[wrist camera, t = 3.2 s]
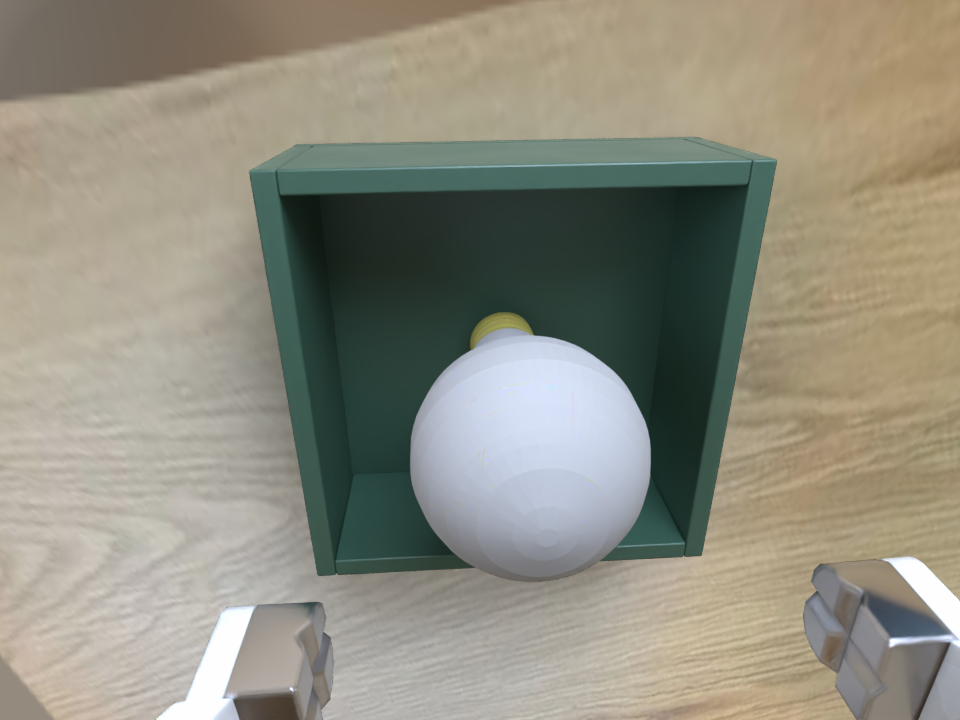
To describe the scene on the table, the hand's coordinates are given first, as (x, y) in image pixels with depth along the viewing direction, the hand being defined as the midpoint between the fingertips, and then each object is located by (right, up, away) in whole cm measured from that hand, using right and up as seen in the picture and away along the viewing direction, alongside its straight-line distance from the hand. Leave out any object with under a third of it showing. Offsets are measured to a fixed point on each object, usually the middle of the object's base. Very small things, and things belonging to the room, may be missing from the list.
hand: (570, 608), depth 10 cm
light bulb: (-1, +5, +11) cm, 12 cm away
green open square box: (-1, +5, +11) cm, 12 cm away
